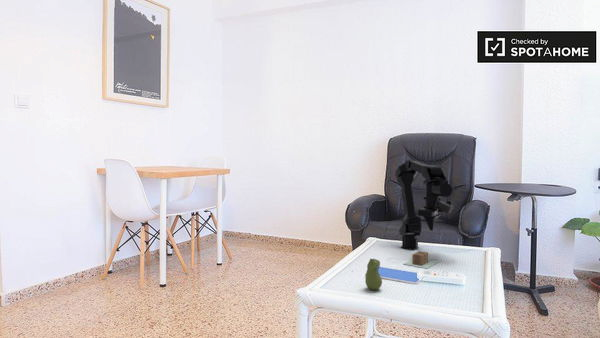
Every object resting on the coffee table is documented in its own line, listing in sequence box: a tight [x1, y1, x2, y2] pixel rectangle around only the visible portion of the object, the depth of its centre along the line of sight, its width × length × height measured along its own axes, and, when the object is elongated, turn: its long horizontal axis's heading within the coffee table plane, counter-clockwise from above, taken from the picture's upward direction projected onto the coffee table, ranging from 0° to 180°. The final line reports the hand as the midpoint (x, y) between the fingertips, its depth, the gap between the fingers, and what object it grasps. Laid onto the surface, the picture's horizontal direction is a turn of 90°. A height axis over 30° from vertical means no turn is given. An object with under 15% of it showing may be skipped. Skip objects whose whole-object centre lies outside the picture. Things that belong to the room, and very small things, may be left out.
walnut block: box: [411, 250, 429, 266], centre depth 162 cm, size 4×4×7 cm
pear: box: [365, 258, 383, 291], centre depth 130 cm, size 6×5×10 cm
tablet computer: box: [364, 266, 421, 285], centre depth 146 cm, size 19×13×1 cm, turn 59°
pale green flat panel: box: [403, 258, 440, 270], centre depth 163 cm, size 10×14×1 cm
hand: (431, 230), depth 171 cm, fingers closed
